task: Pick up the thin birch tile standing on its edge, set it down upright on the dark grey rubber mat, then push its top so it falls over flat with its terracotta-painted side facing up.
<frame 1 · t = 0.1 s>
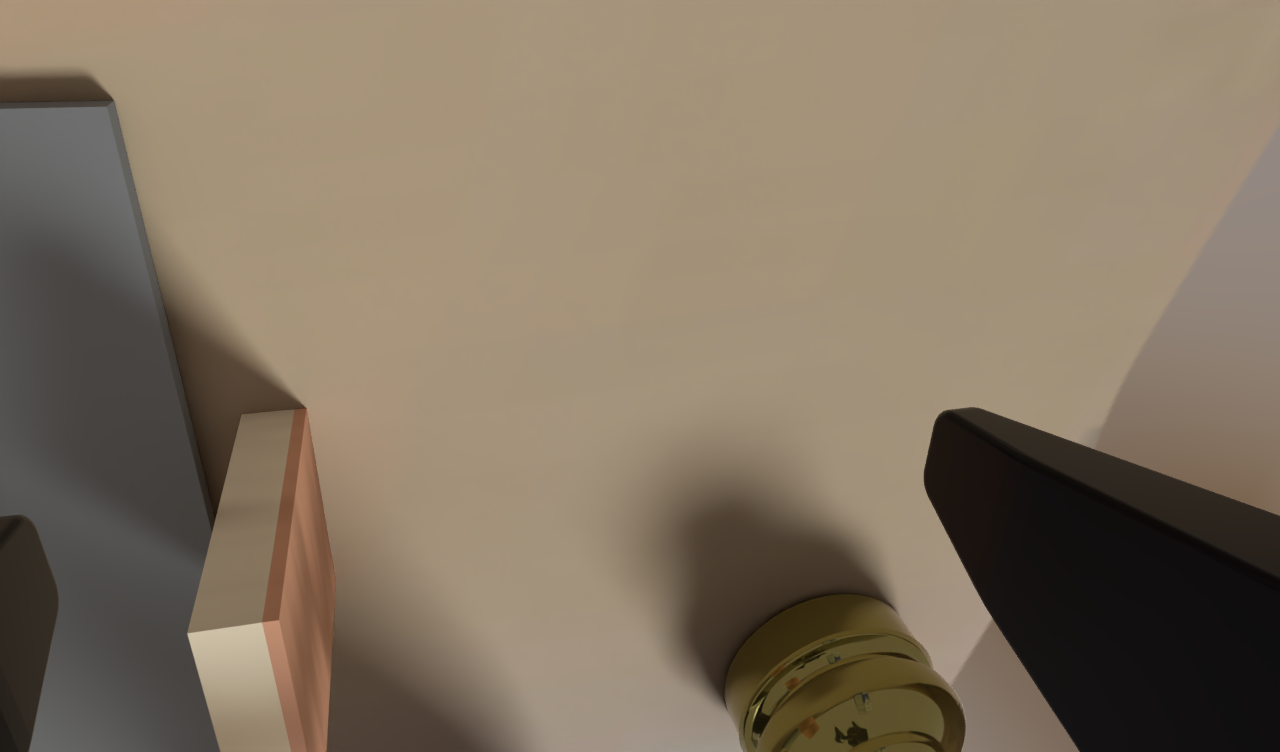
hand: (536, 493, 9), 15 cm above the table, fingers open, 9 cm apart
tile: (291, 504, 25), on the table
olive tall rounded piece: (812, 660, 34), on the table
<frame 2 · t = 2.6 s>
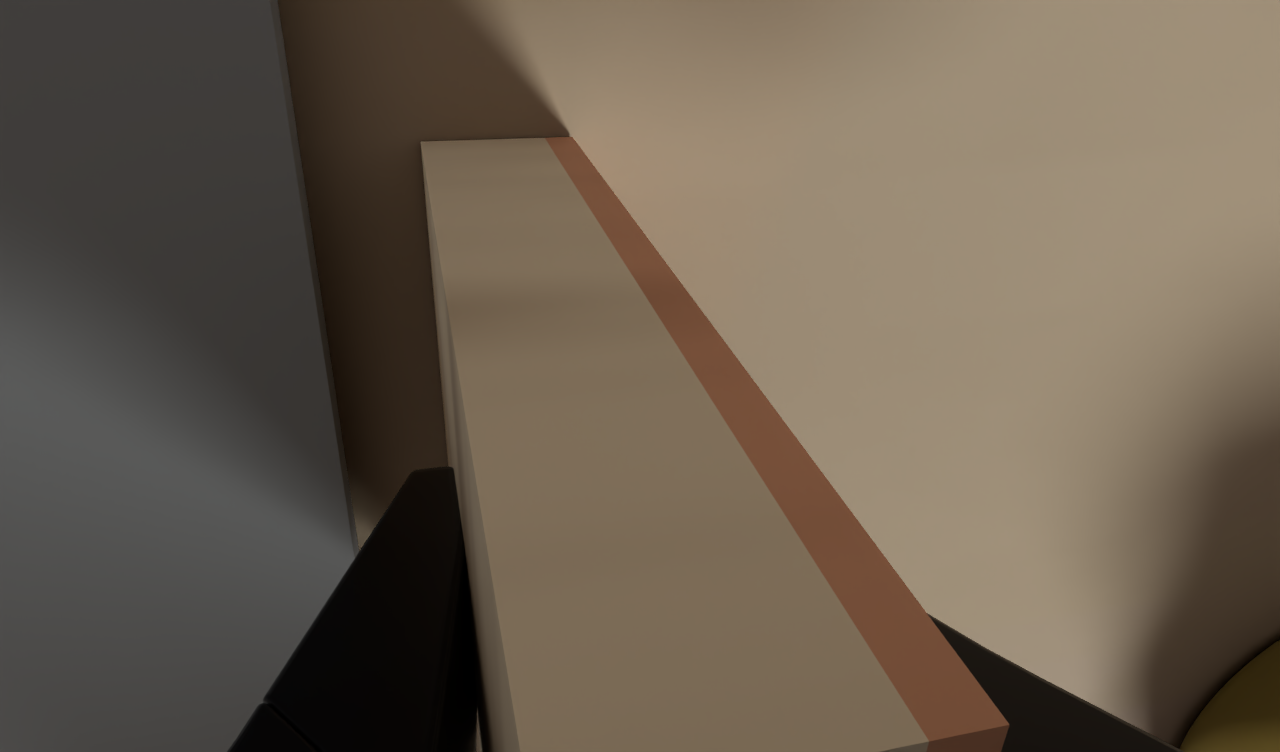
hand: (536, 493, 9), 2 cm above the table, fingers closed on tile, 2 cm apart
tile: (508, 386, 11), on the table, touching gripper
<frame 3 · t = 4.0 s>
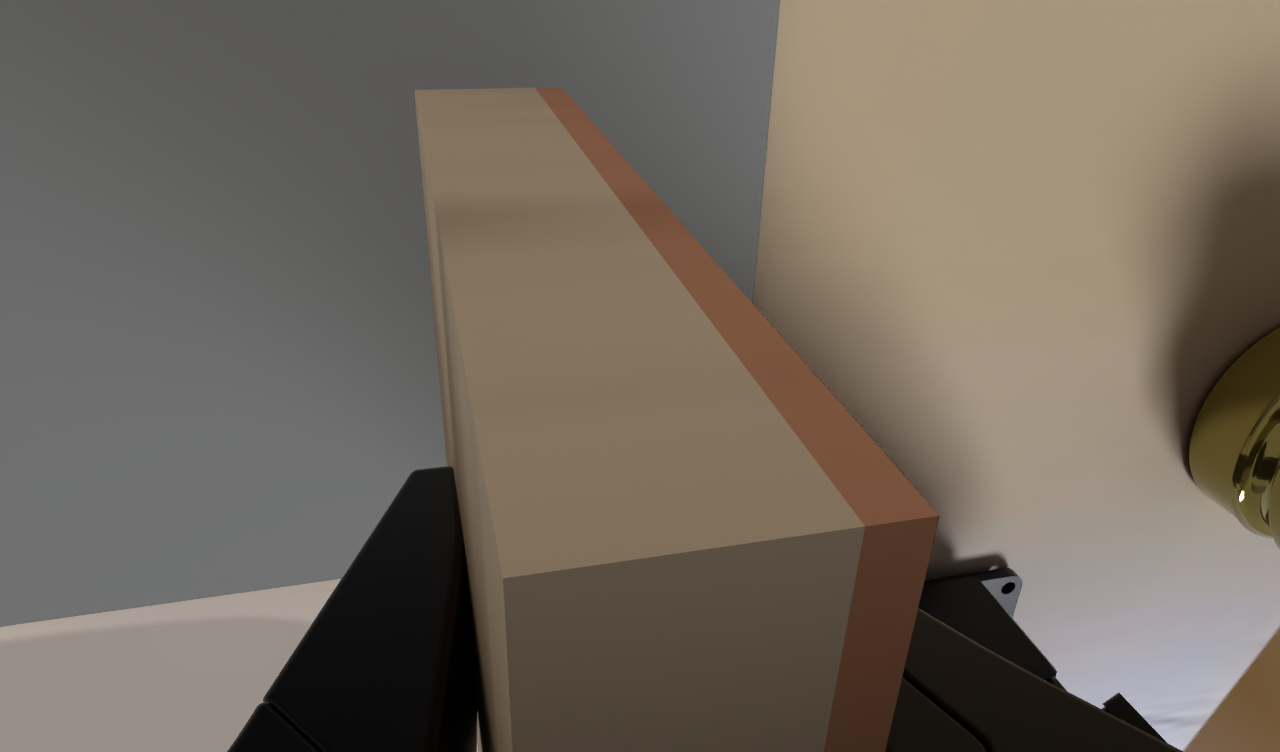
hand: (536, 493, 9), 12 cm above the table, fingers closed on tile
tile: (501, 335, 11), point 9 cm above the table, touching gripper
mat: (340, 128, 18), on the table
olive tall rounded piece: (1276, 404, 30), on the table
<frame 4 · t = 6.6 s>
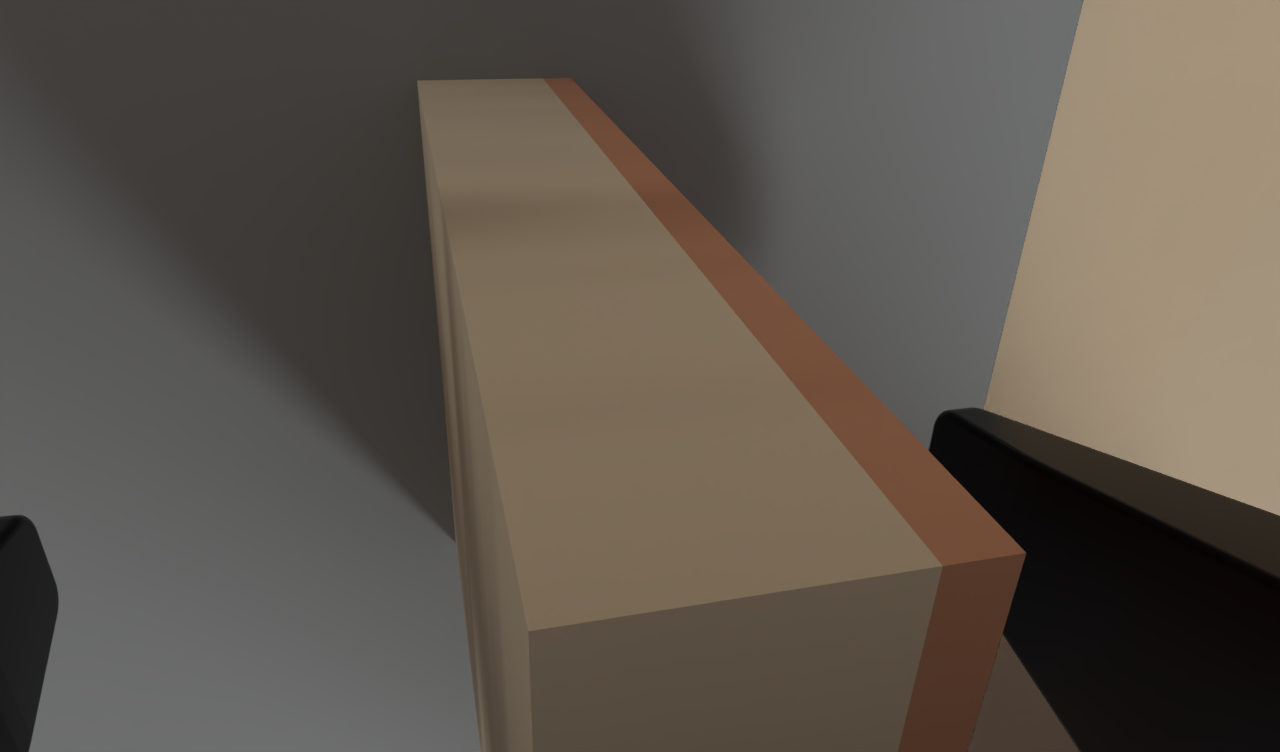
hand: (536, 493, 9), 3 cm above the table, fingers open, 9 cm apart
tile: (506, 336, 11), point 1 cm above the table, touching mat
mat: (326, 298, 11), on the table
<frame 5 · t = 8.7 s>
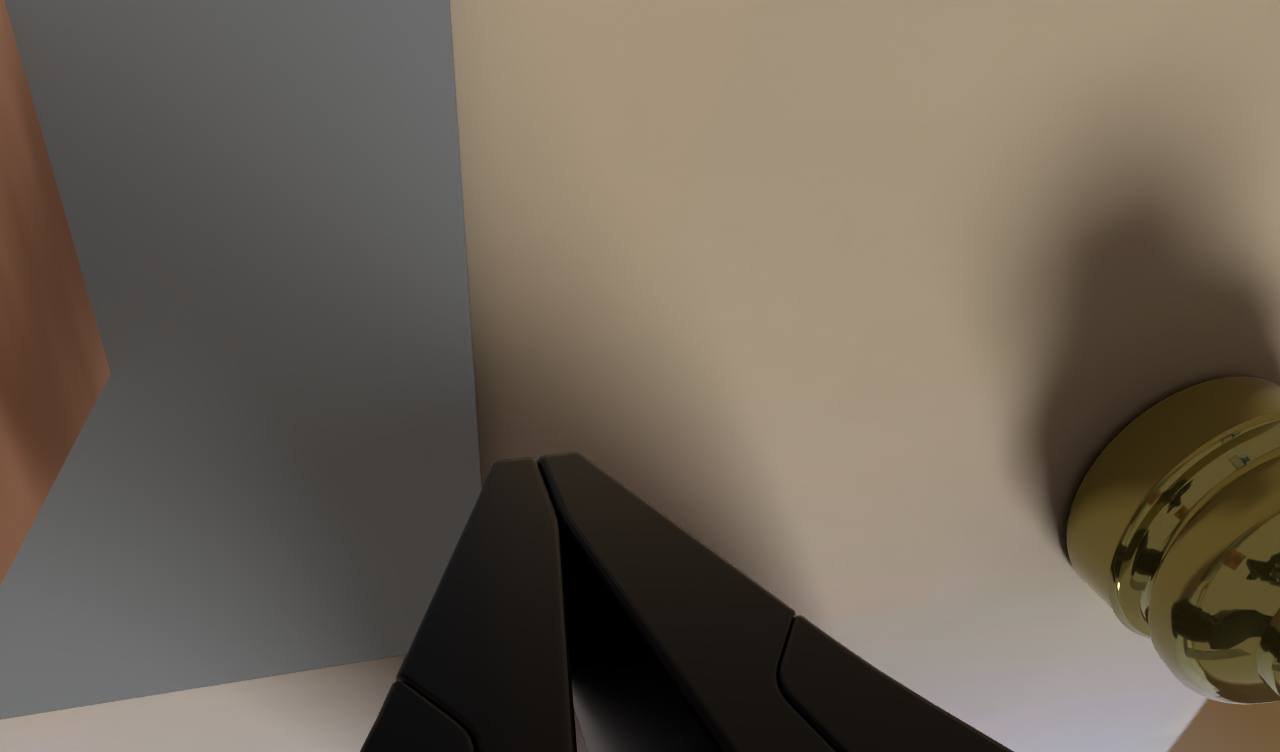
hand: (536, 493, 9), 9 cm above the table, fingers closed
tile: (4, 207, 14), point 1 cm above the table, touching mat
olive tall rounded piece: (1171, 482, 25), on the table
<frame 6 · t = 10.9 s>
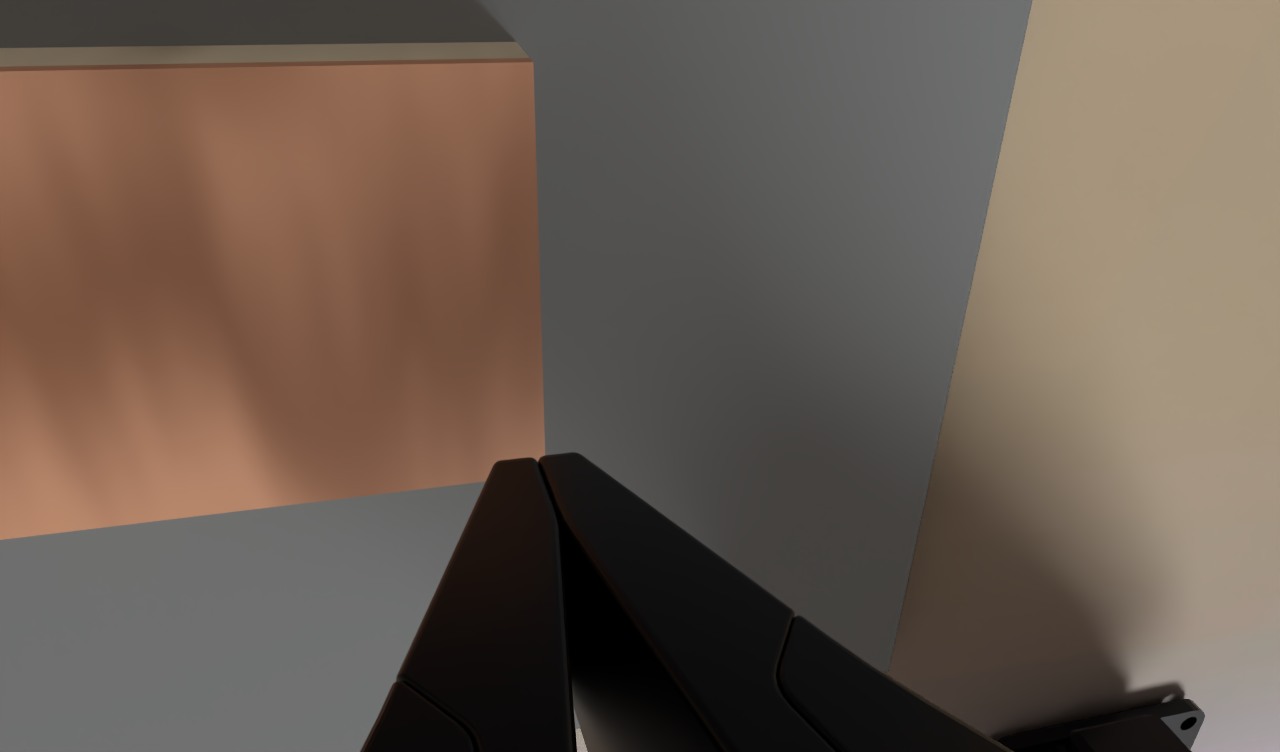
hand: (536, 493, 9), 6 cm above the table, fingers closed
tile: (531, 270, 13), point 1 cm above the table, tilted 90°, touching mat
mat: (444, 216, 14), on the table
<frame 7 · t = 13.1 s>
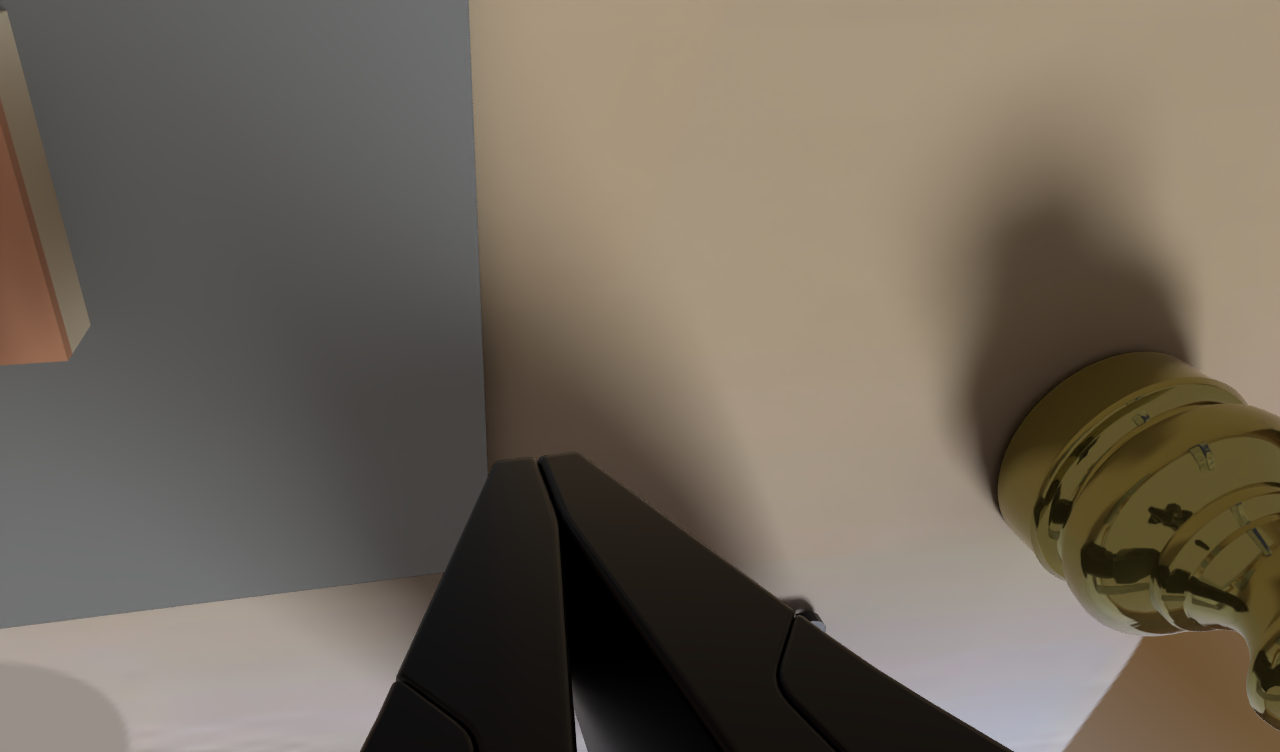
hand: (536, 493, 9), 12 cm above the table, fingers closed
tile: (38, 193, 16), point 1 cm above the table, tilted 90°, touching mat
olive tall rounded piece: (1092, 446, 29), on the table
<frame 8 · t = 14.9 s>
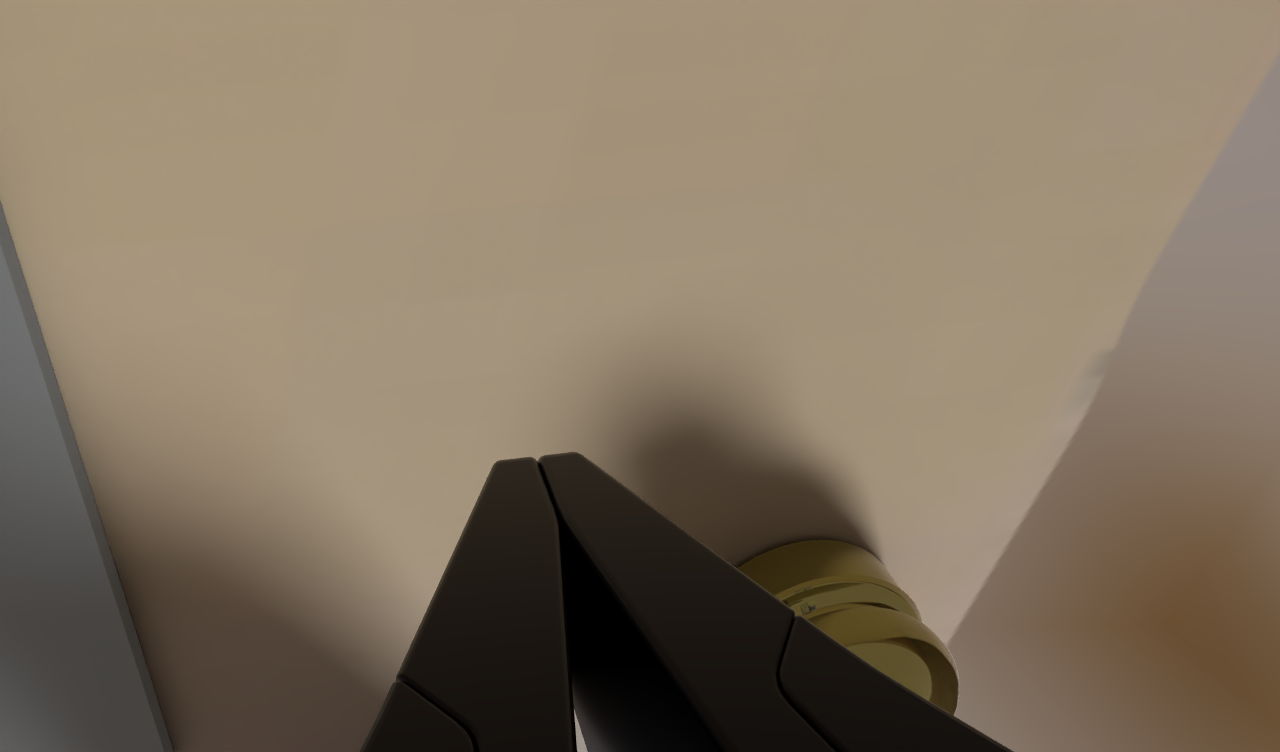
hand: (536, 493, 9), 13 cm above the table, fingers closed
olive tall rounded piece: (786, 617, 30), on the table
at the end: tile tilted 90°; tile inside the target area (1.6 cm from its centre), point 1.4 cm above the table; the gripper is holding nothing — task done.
